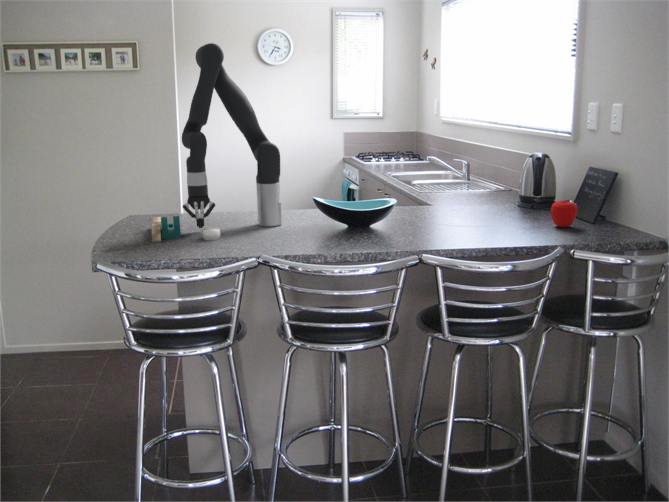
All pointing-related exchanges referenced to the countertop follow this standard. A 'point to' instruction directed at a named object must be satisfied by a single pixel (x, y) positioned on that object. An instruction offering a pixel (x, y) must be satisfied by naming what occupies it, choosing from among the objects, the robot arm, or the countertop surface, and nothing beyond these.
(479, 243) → the countertop surface
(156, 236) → the batten
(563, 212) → the apple
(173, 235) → the bracket
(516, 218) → the countertop surface
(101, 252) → the countertop surface
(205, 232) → the rounded smooth part
